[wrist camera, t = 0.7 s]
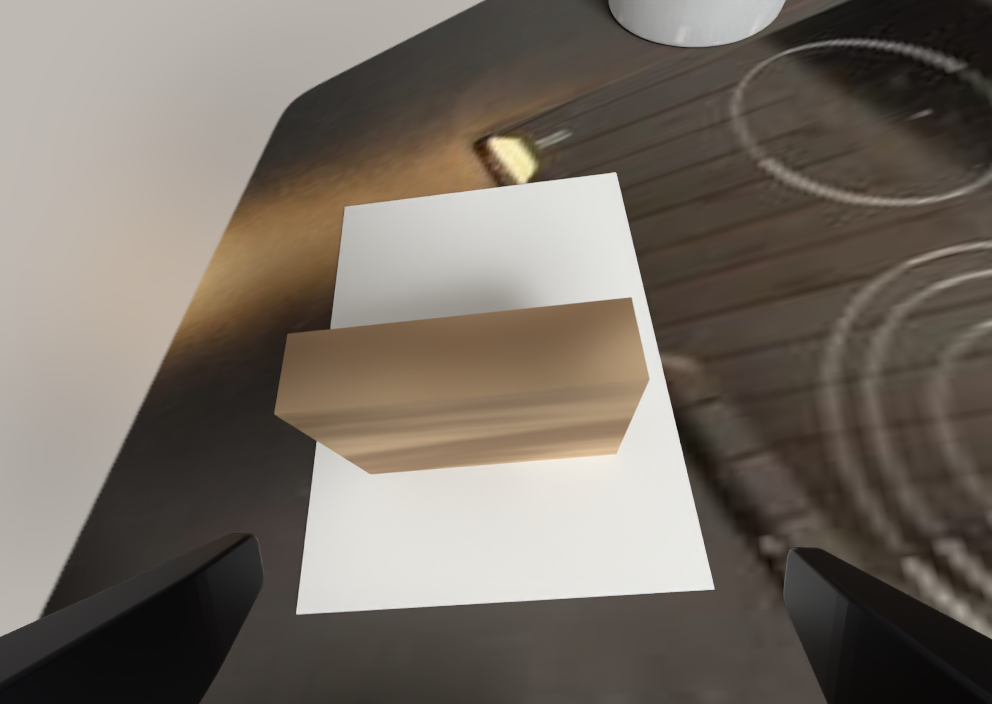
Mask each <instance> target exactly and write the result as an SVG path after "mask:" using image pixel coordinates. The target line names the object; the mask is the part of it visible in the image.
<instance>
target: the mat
mask: <svg viewBox="0 0 992 704" xmlns="http://www.w3.org/2000/svg"><path fill="white" fill-rule="evenodd" d="M629 297H632V302H633V306H634V311H635V315H636V320H637V324H638V329H639V333H640V338H641V342H642V347H643V352H644V356H645V361H646V365H647V370H648V374H649V379H650V380H649V382H648V384H647V386H646V389H645V391H644V393H643V395H642V398H641V400H640V402H639V404H638V407H637V409H636V411H635V413H634V416H633V418H632V420H631V422H630V425H629V427H628V429H627V431H626V434H625V436H624V438H623V440H622V443H621V445H620V447H619V449H618V452H617V454H613V455H601V456H589V457H577V458H564V459H552V460H540V461H528V462H516V463H503V464H491V465H479V466H467V467H455V468H443V469H430V470H418V471H406V472H394V473H382V474H369V473H367V472H366V471H364V470H363V469H361V468H359V467H358V466H356V465H355V464H353V463H351V462H350V461H348V460H346V459H345V458H343V457H342V456H340V455H338V454H337V453H335V452H334V451H332V450H330V449H329V448H327V447H326V446H324V445H322V444H321V443H319V442H318V441H317V444H316V453H315V461H314V469H313V478H312V486H311V494H310V503H309V511H308V519H307V528H306V536H305V544H304V553H303V561H302V569H301V578H300V586H299V594H298V603H297V611H296V614H313V613H330V612H346V611H363V610H380V609H396V608H413V607H430V606H447V605H463V604H480V603H497V602H513V601H530V600H547V599H564V598H580V597H597V596H614V595H630V594H647V593H664V592H681V591H697V590H714V585H713V581H712V576H711V572H710V568H709V564H708V559H707V555H706V551H705V547H704V542H703V538H702V534H701V530H700V525H699V521H698V517H697V513H696V509H695V504H694V500H693V496H692V492H691V487H690V483H689V479H688V475H687V470H686V466H685V462H684V458H683V453H682V449H681V445H680V441H679V437H678V432H677V428H676V424H675V420H674V415H673V411H672V407H671V403H670V398H669V394H668V390H667V386H666V381H665V377H664V373H663V369H662V365H661V360H660V356H659V352H658V348H657V343H656V339H655V335H654V331H653V326H652V322H651V318H650V314H649V309H648V305H647V301H646V297H645V293H644V288H643V284H642V280H641V276H640V271H639V267H638V263H637V259H636V254H635V250H634V246H633V242H632V238H631V233H630V229H629V225H628V221H627V216H626V212H625V208H624V204H623V199H622V195H621V191H620V187H619V182H618V178H617V174H616V173H608V174H600V175H592V176H585V177H577V178H569V179H561V180H553V181H545V182H537V183H529V184H521V185H513V186H505V187H497V188H489V189H482V190H474V191H466V192H458V193H450V194H442V195H434V196H426V197H418V198H410V199H402V200H394V201H387V202H379V203H371V204H363V205H355V206H347V207H345V211H344V219H343V228H342V236H341V244H340V253H339V261H338V269H337V278H336V286H335V294H334V303H333V311H332V319H331V328H330V329H338V328H347V327H356V326H366V325H375V324H385V323H394V322H403V321H413V320H422V319H432V318H441V317H450V316H460V315H469V314H479V313H488V312H497V311H507V310H516V309H526V308H535V307H544V306H554V305H563V304H573V303H582V302H591V301H601V300H610V299H620V298H629Z"/></svg>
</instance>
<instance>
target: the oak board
mask: <svg viewBox="0 0 992 704" xmlns="http://www.w3.org/2000/svg"><path fill="white" fill-rule="evenodd" d="M649 380H650V379H649V374H648V370H647V365H646V361H645V356H644V352H643V347H642V342H641V338H640V333H639V329H638V324H637V320H636V315H635V311H634V306H633V302H632V297H629V298H620V299H610V300H601V301H591V302H582V303H573V304H563V305H554V306H544V307H535V308H526V309H516V310H507V311H497V312H488V313H479V314H469V315H460V316H450V317H441V318H432V319H422V320H413V321H403V322H394V323H385V324H375V325H366V326H356V327H347V328H338V329H328V330H319V331H309V332H300V333H291V334H287V340H286V346H285V352H284V358H283V364H282V370H281V376H280V382H279V388H278V395H277V401H276V407H275V413H274V415H276V416H278V417H279V418H281V419H282V420H284V421H286V422H287V423H289V424H290V425H292V426H294V427H295V428H297V429H298V430H300V431H302V432H303V433H305V434H306V435H308V436H310V437H311V438H313V439H314V440H316V441H318V442H319V443H321V444H322V445H324V446H326V447H327V448H329V449H330V450H332V451H334V452H335V453H337V454H338V455H340V456H342V457H343V458H345V459H346V460H348V461H350V462H351V463H353V464H355V465H356V466H358V467H359V468H361V469H363V470H364V471H366V472H367V473H369V474H382V473H394V472H406V471H418V470H430V469H443V468H455V467H467V466H479V465H491V464H503V463H516V462H528V461H540V460H552V459H564V458H577V457H589V456H601V455H613V454H617V452H618V449H619V447H620V445H621V443H622V440H623V438H624V436H625V434H626V431H627V429H628V427H629V425H630V422H631V420H632V418H633V416H634V413H635V411H636V409H637V407H638V404H639V402H640V400H641V398H642V395H643V393H644V391H645V389H646V386H647V384H648V382H649Z"/></svg>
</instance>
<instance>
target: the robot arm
mask: <svg viewBox="0 0 992 704" xmlns="http://www.w3.org/2000/svg"><path fill="white" fill-rule="evenodd" d="M263 581H264V569H263V563H262V558H261V552H260V546H259V541H258V539H257V537H256V536H255V535H253V534H246V533H232V534H229V535H226V536H224V537H222V538H220V539H218V540H215V541H213V542H211V543H209V544H206V545H204V546H202V547H200V548H197V549H195V550H193V551H191V552H189V553H186V554H184V555H182V556H180V557H177V558H175V559H173V560H171V561H169V562H166V563H164V564H162V565H160V566H157V567H155V568H153V569H151V570H148V571H146V572H144V573H142V574H140V575H137V576H135V577H133V578H131V579H128V580H126V581H124V582H122V583H119V584H117V585H115V586H113V587H111V588H108V589H106V590H104V591H102V592H99V593H97V594H95V595H93V596H91V597H88V598H86V599H84V600H82V601H79V602H77V603H75V604H73V605H70V606H68V607H66V608H64V609H62V610H59V611H57V612H55V613H53V614H50V615H48V616H46V617H44V618H41V619H39V620H37V621H35V622H33V623H30V624H28V625H26V626H24V627H21V628H19V629H17V630H15V631H12V632H10V633H8V634H6V635H4V636H1V637H0V704H199V703H200V701H201V700H202V698H203V697H204V695H205V693H206V692H207V690H208V688H209V687H210V685H211V683H212V682H213V680H214V678H215V677H216V675H217V673H218V671H219V669H220V668H221V666H222V664H223V662H224V660H225V658H226V656H227V654H228V653H229V651H230V649H231V647H232V645H233V643H234V641H235V639H236V637H237V635H238V633H239V631H240V629H241V627H242V625H243V623H244V621H245V620H246V618H247V616H248V614H249V612H250V610H251V608H252V606H253V604H254V602H255V600H256V598H257V596H258V594H259V592H260V590H261V588H262V585H263ZM784 600H785V605H786V608H787V611H788V613H789V615H790V618H791V620H792V622H793V625H794V627H795V629H796V632H797V634H798V636H799V639H800V641H801V643H802V646H803V648H804V650H805V653H806V655H807V657H808V660H809V662H810V664H811V667H812V669H813V671H814V674H815V676H816V678H817V681H818V683H819V685H820V688H821V690H822V692H823V695H824V697H825V699H826V701H827V703H828V704H992V639H990V638H989V637H987V636H985V635H983V634H981V633H979V632H977V631H975V630H973V629H972V628H970V627H968V626H966V625H964V624H962V623H960V622H958V621H956V620H955V619H953V618H951V617H949V616H947V615H945V614H943V613H941V612H939V611H938V610H936V609H934V608H932V607H930V606H928V605H926V604H924V603H922V602H921V601H919V600H917V599H915V598H913V597H911V596H909V595H907V594H905V593H904V592H902V591H900V590H898V589H896V588H894V587H892V586H890V585H888V584H887V583H885V582H883V581H881V580H879V579H877V578H875V577H873V576H871V575H870V574H868V573H866V572H864V571H862V570H860V569H858V568H856V567H854V566H853V565H851V564H849V563H847V562H845V561H843V560H841V559H839V558H837V557H836V556H834V555H832V554H830V553H828V552H826V551H824V550H822V549H820V548H802V547H794V548H792V549H791V550H790V551H789V553H788V557H787V565H786V574H785V584H784Z"/></svg>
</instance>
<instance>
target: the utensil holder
mask: <svg viewBox="0 0 992 704" xmlns="http://www.w3.org/2000/svg"><path fill="white" fill-rule="evenodd" d="M784 2H785V0H609V6H610V10H611V12H612V14H613V16H614V17H615V19H616V20H617V21H618V22H619V23H620V24H621V25H622V26H623V27H624V28H626V29H627V30H629V31H630V32H632V33H633V34H635V35H637V36H639V37H641V38H644V39H647V40H650V41H653V42H656V43H660V44H666V45H672V46H680V47H710V46H718V45H724V44H729V43H733V42H736V41H739V40H742V39H745V38H747V37H750V36H752V35H754V34H756V33H757V32H759V31H761V30H762V29H764V28H765V27H766V26H768V25H769V24H770V23H771V22H772V21H773V20H774V19H775V18H776V17H777V15H778V14H779V12H780V11H781V9H782V6H783V4H784Z"/></svg>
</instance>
